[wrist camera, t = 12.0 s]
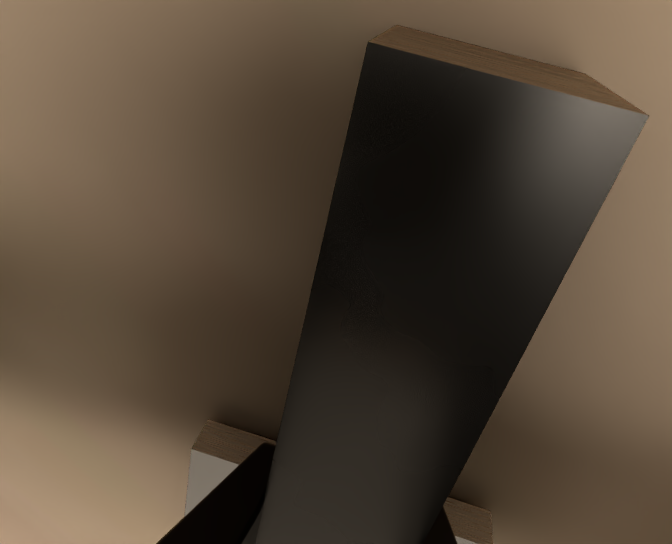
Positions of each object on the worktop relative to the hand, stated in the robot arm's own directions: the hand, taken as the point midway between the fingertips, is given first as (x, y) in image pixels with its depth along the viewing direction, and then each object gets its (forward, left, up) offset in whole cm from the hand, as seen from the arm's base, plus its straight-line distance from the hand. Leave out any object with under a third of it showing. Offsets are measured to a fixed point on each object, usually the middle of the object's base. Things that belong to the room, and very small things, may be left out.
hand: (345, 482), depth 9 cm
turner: (0, +1, -1) cm, 1 cm away
